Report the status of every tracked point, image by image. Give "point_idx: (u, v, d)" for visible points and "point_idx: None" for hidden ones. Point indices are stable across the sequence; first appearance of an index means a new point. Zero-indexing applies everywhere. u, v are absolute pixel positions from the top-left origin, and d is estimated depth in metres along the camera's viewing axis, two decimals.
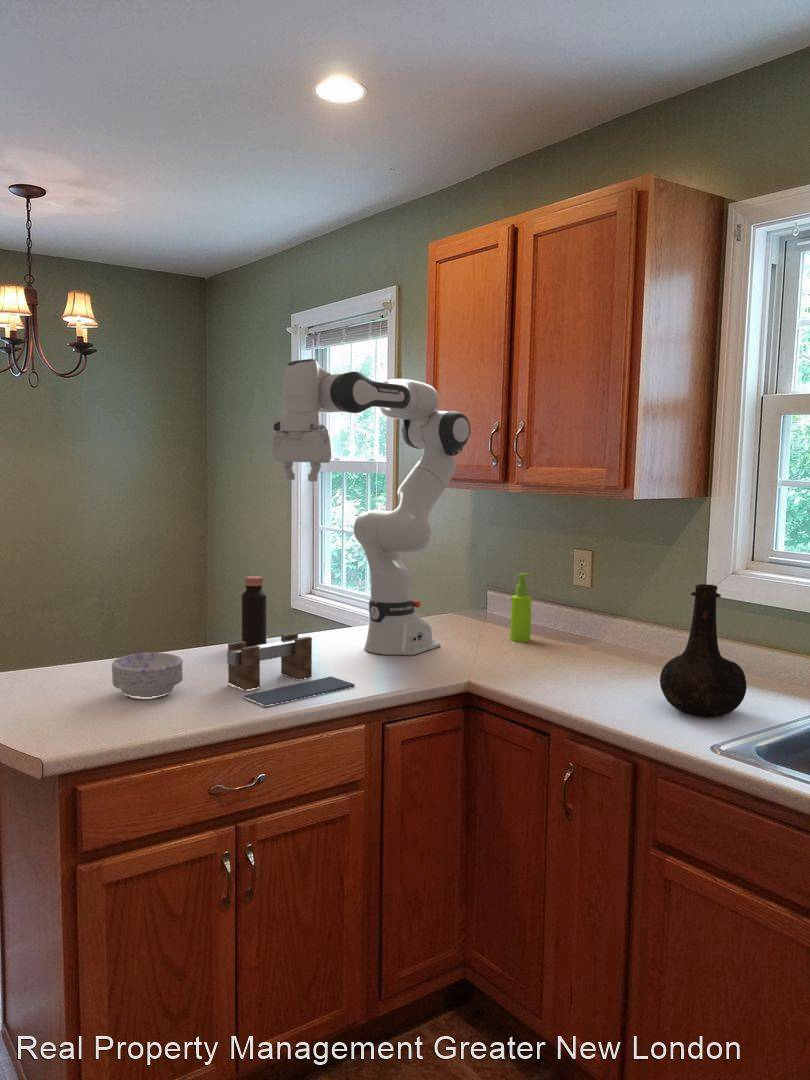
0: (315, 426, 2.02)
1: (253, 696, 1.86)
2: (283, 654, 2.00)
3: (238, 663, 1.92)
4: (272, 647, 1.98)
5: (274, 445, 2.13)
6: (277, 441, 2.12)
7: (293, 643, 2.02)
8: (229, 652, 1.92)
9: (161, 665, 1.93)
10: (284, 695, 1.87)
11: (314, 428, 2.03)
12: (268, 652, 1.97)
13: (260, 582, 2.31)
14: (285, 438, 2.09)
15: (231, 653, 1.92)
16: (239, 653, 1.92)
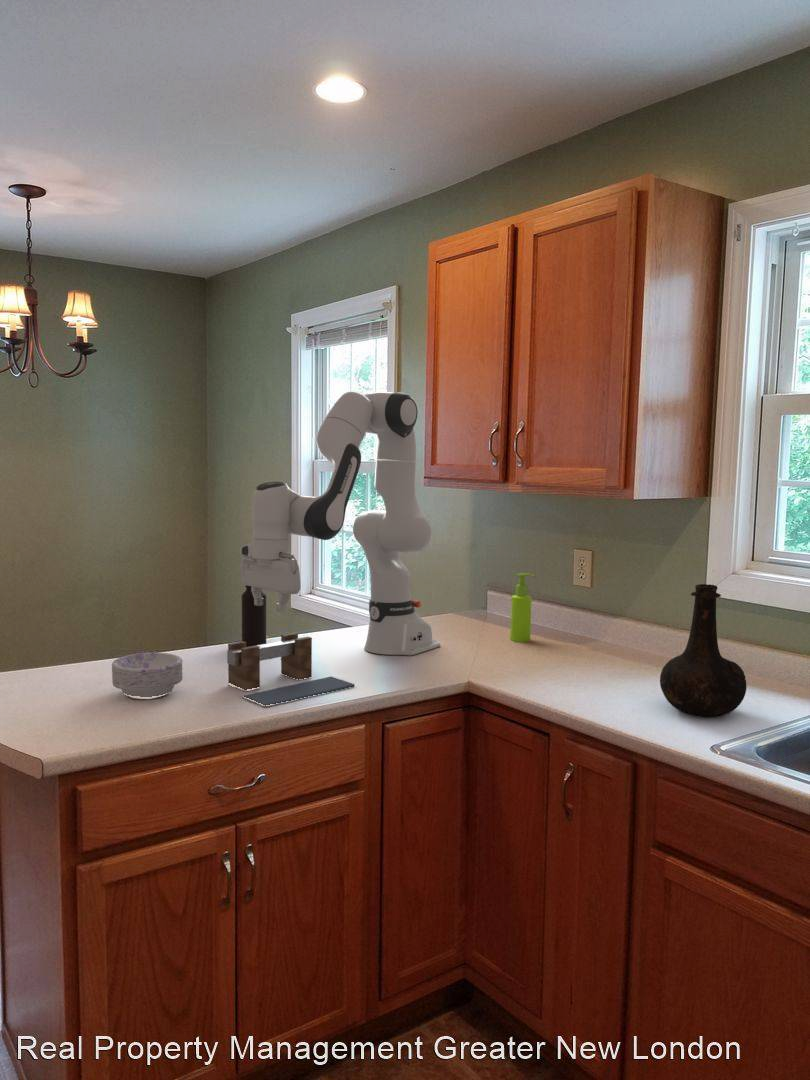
0: (284, 555, 1.92)
1: (253, 696, 1.86)
2: (283, 654, 2.00)
3: (238, 663, 1.92)
4: (272, 647, 1.98)
5: (242, 568, 2.02)
6: (245, 565, 2.02)
7: (293, 643, 2.02)
8: (229, 652, 1.92)
9: (160, 665, 1.93)
10: (284, 695, 1.87)
11: (283, 557, 1.92)
12: (268, 652, 1.97)
13: None
14: (253, 563, 1.99)
15: (231, 653, 1.92)
16: (239, 653, 1.92)
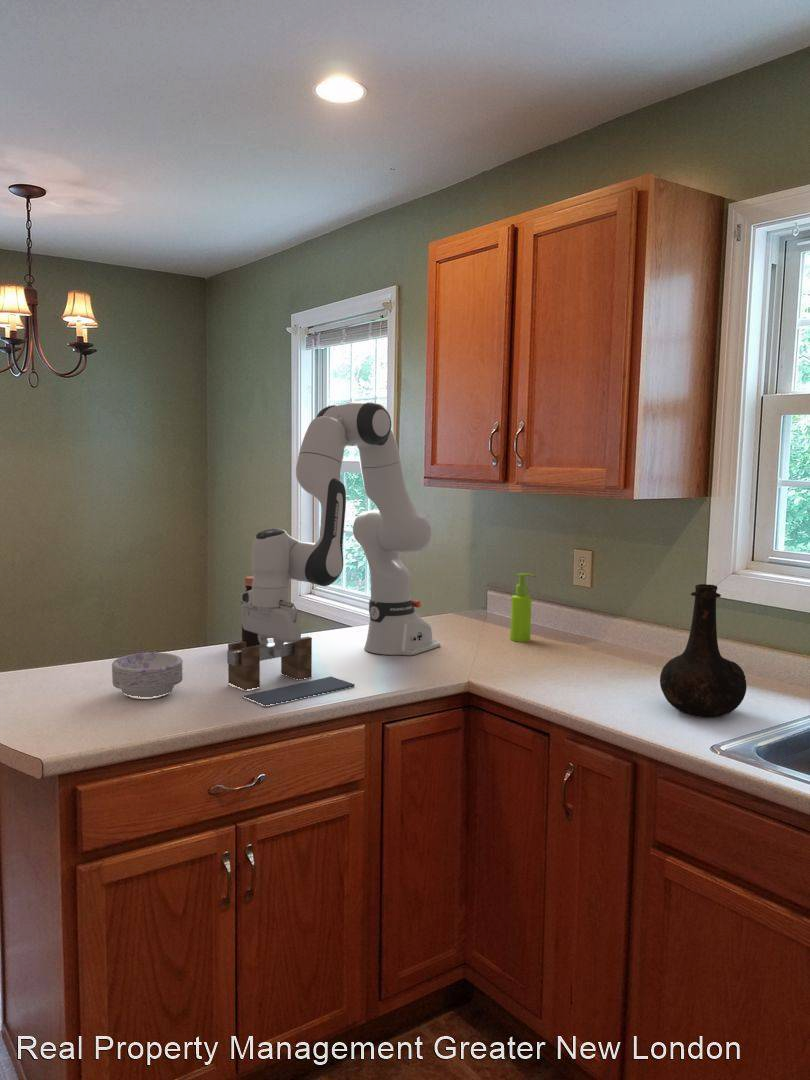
0: (284, 603, 1.93)
1: (253, 696, 1.86)
2: (283, 654, 2.00)
3: (238, 663, 1.92)
4: (272, 647, 1.98)
5: (243, 614, 2.04)
6: (246, 611, 2.03)
7: (293, 643, 2.02)
8: (229, 652, 1.92)
9: (160, 665, 1.93)
10: (284, 695, 1.87)
11: (283, 605, 1.94)
12: (268, 652, 1.97)
13: None
14: (254, 610, 2.00)
15: (231, 653, 1.92)
16: (239, 653, 1.92)
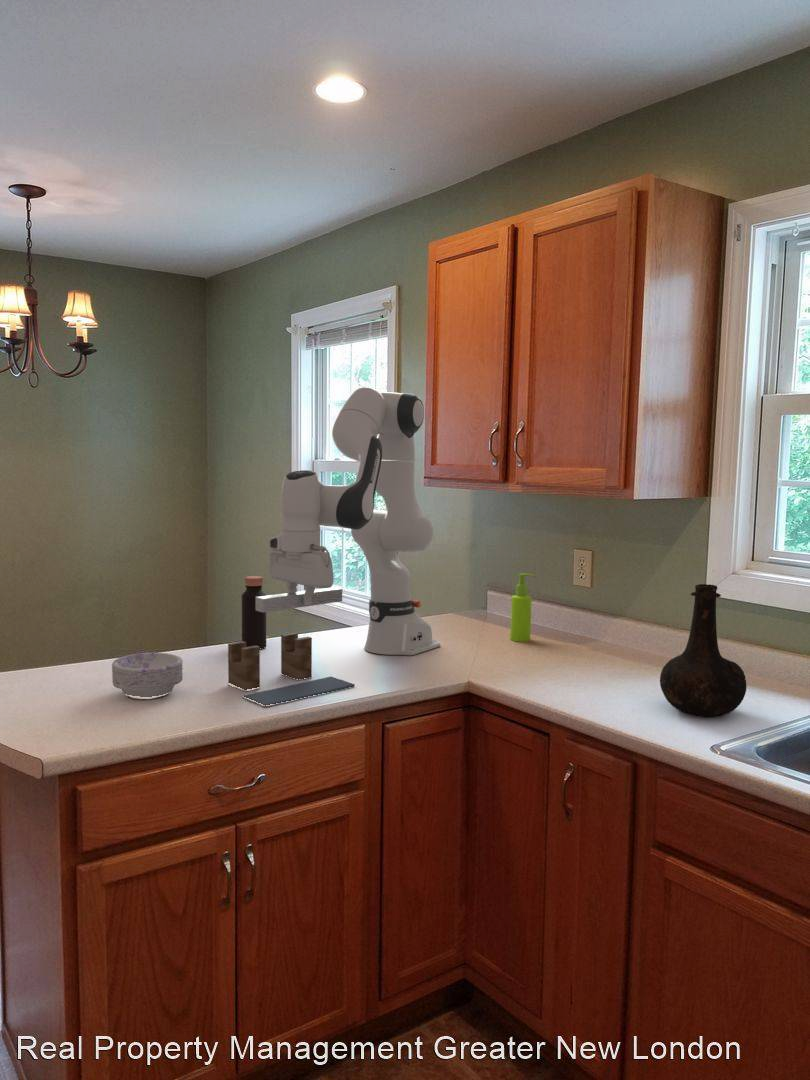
0: (316, 547, 1.83)
1: (253, 696, 1.86)
2: (313, 603, 1.90)
3: (267, 610, 1.82)
4: (302, 595, 1.88)
5: (270, 562, 1.93)
6: (274, 558, 1.93)
7: (323, 592, 1.92)
8: (257, 598, 1.82)
9: (160, 665, 1.93)
10: (284, 695, 1.87)
11: (314, 549, 1.84)
12: (298, 600, 1.87)
13: (260, 582, 2.31)
14: (282, 556, 1.90)
15: (260, 599, 1.82)
16: (268, 599, 1.82)
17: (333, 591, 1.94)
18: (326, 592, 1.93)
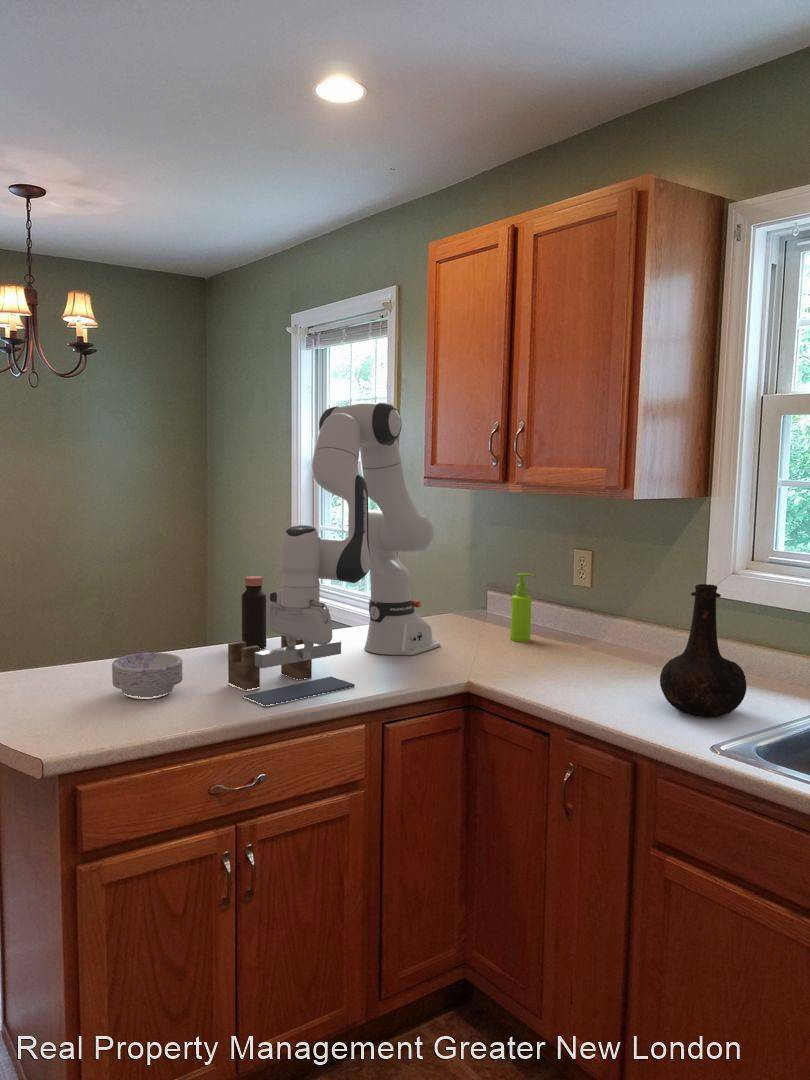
0: (315, 603, 1.84)
1: (253, 696, 1.86)
2: (312, 657, 1.91)
3: (266, 666, 1.83)
4: (301, 649, 1.89)
5: (270, 615, 1.95)
6: (273, 611, 1.94)
7: (322, 645, 1.93)
8: (257, 654, 1.83)
9: (160, 665, 1.93)
10: (284, 695, 1.87)
11: (314, 605, 1.85)
12: (297, 654, 1.88)
13: (260, 582, 2.31)
14: (282, 610, 1.92)
15: (259, 655, 1.83)
16: (267, 655, 1.83)
17: (332, 644, 1.95)
18: (325, 645, 1.94)
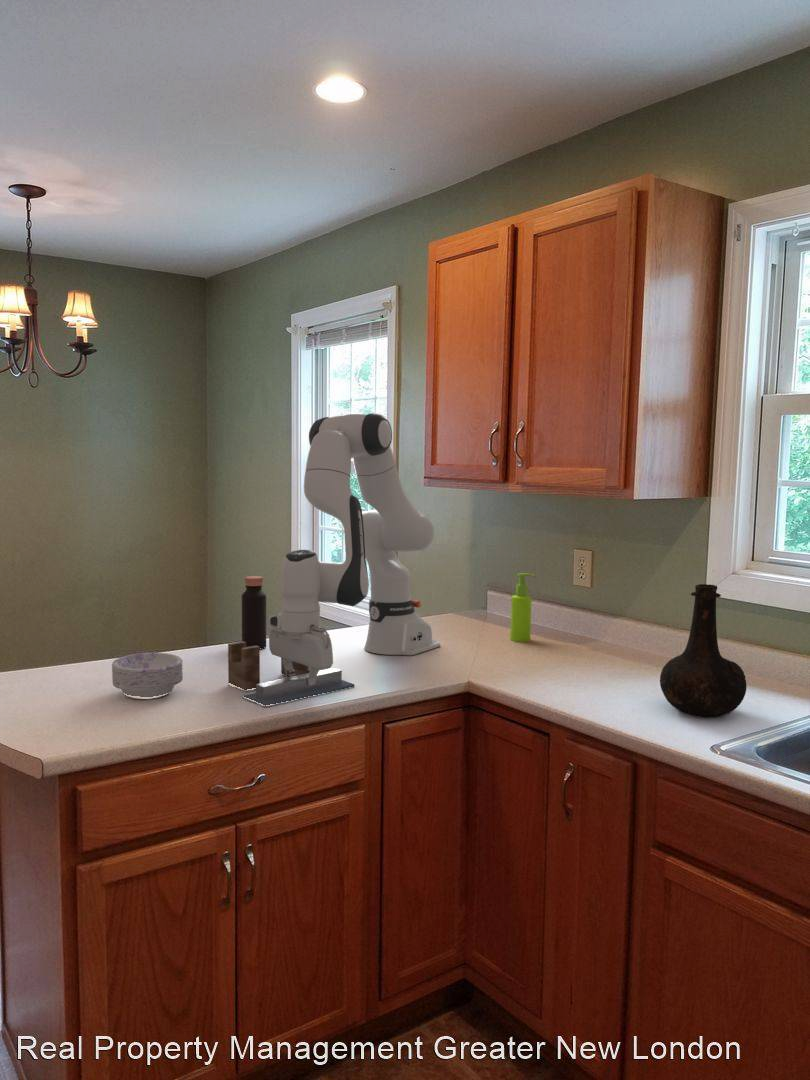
0: (315, 628, 1.85)
1: (253, 696, 1.86)
2: (313, 687, 1.92)
3: (267, 698, 1.84)
4: (302, 680, 1.90)
5: (271, 638, 1.95)
6: (274, 635, 1.95)
7: (323, 675, 1.94)
8: (258, 686, 1.84)
9: (160, 665, 1.93)
10: None
11: (314, 630, 1.85)
12: (298, 685, 1.89)
13: (260, 582, 2.31)
14: (282, 634, 1.92)
15: (260, 687, 1.84)
16: (268, 687, 1.84)
17: (333, 673, 1.96)
18: (326, 675, 1.95)
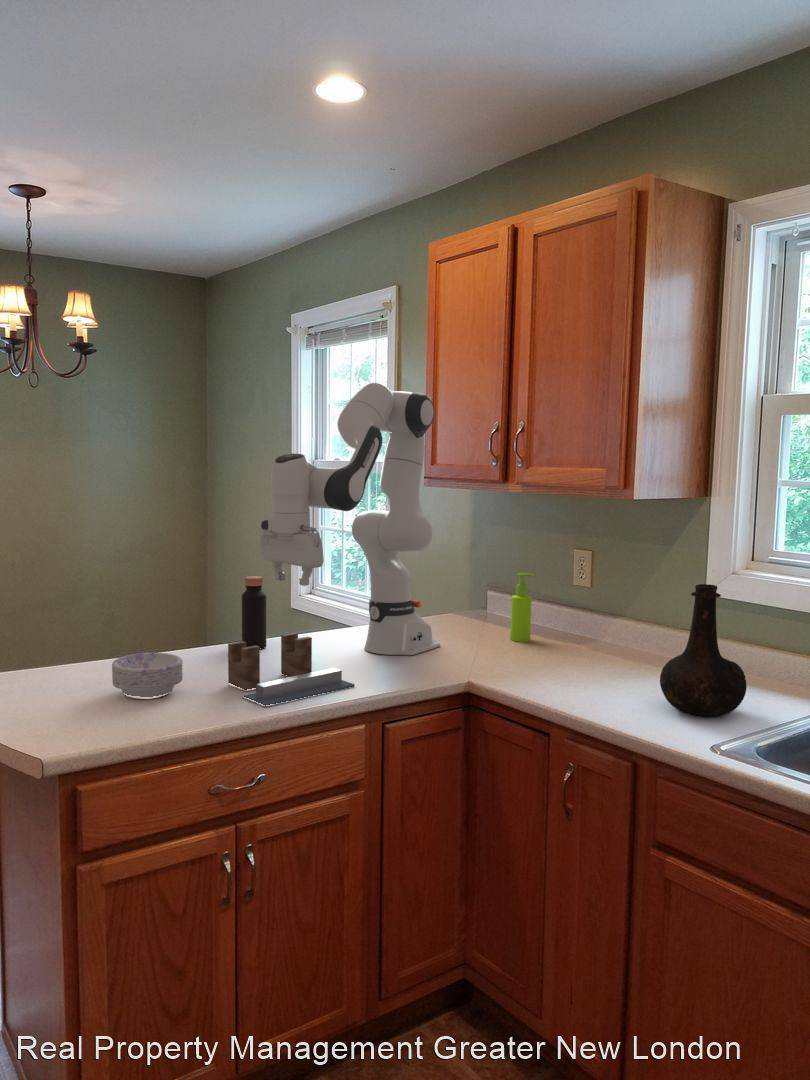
0: (306, 528, 1.89)
1: (253, 696, 1.86)
2: (313, 687, 1.92)
3: (267, 698, 1.84)
4: (302, 680, 1.90)
5: (262, 543, 1.99)
6: (265, 539, 1.99)
7: (323, 675, 1.94)
8: (258, 686, 1.84)
9: (160, 665, 1.93)
10: None
11: (305, 530, 1.89)
12: (298, 685, 1.89)
13: (260, 582, 2.31)
14: (273, 538, 1.96)
15: (260, 687, 1.84)
16: (268, 687, 1.84)
17: (333, 673, 1.96)
18: (326, 675, 1.95)
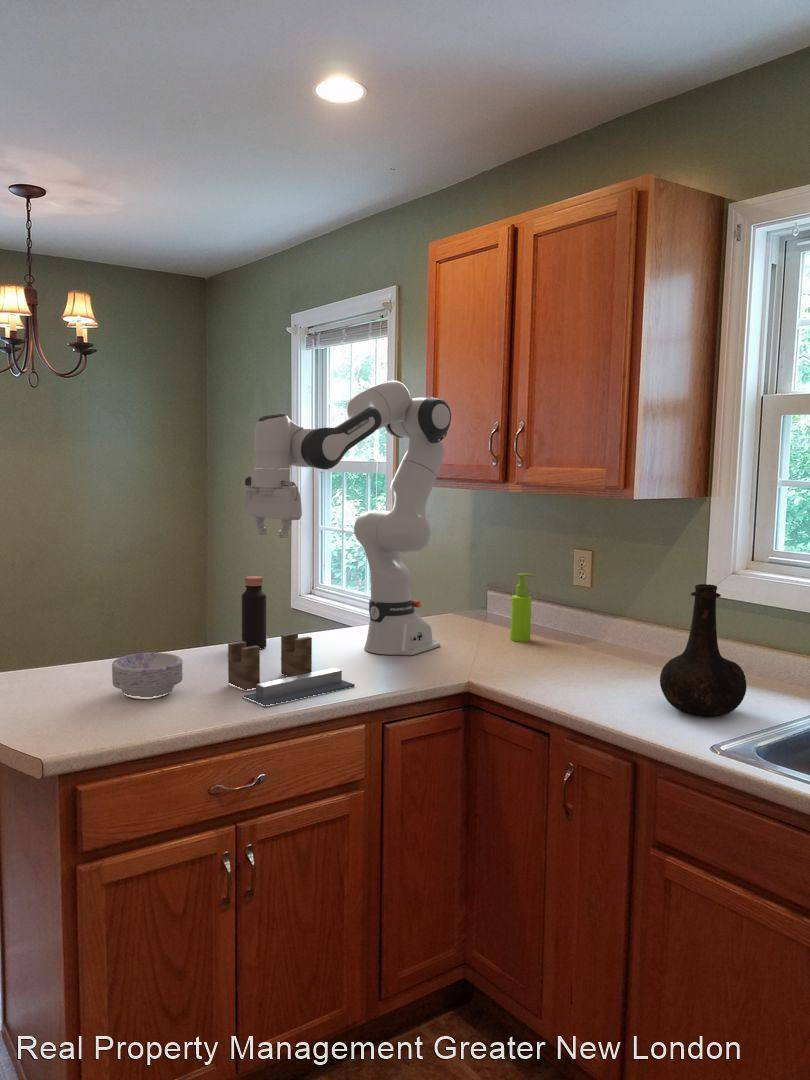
0: (285, 483, 2.00)
1: (253, 696, 1.86)
2: (313, 687, 1.92)
3: (267, 698, 1.84)
4: (302, 680, 1.90)
5: (246, 499, 2.11)
6: (248, 496, 2.10)
7: (323, 675, 1.94)
8: (258, 686, 1.84)
9: (160, 665, 1.93)
10: None
11: (284, 485, 2.01)
12: (298, 685, 1.89)
13: (260, 582, 2.31)
14: (256, 493, 2.07)
15: (260, 687, 1.84)
16: (268, 687, 1.84)
17: (333, 673, 1.96)
18: (326, 675, 1.95)
